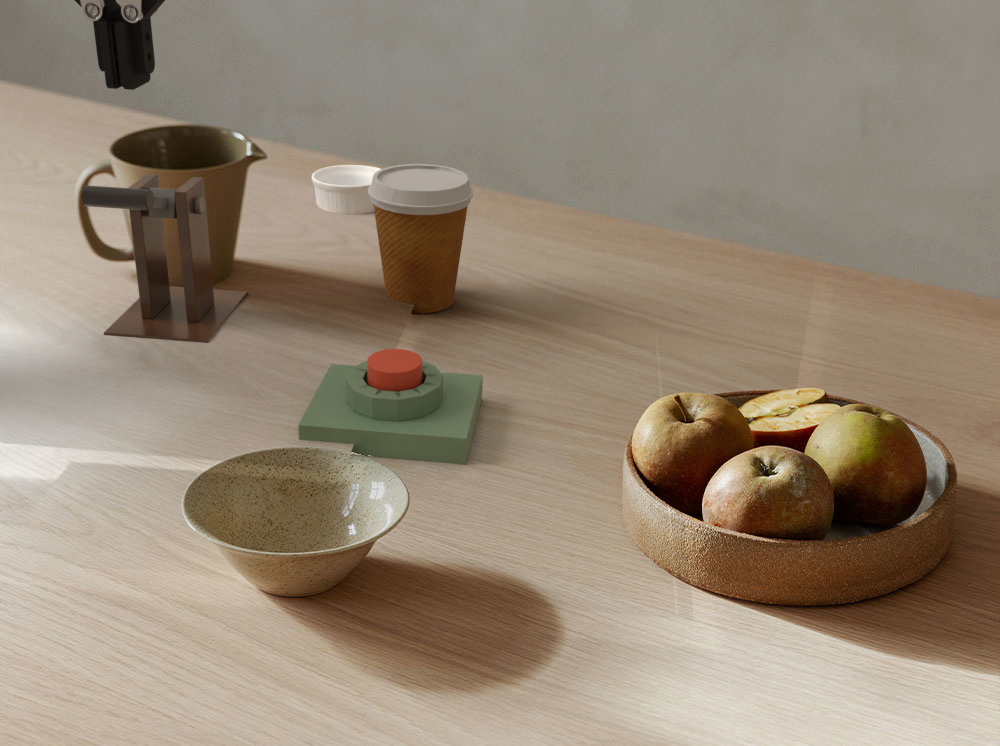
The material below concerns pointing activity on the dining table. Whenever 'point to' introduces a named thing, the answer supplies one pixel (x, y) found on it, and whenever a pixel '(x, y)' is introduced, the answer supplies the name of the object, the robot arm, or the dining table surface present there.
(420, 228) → the disposable coffee cup
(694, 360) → the dining table surface
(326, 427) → the button box
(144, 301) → the bracket
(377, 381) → the button
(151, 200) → the lever
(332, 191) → the ramekin
